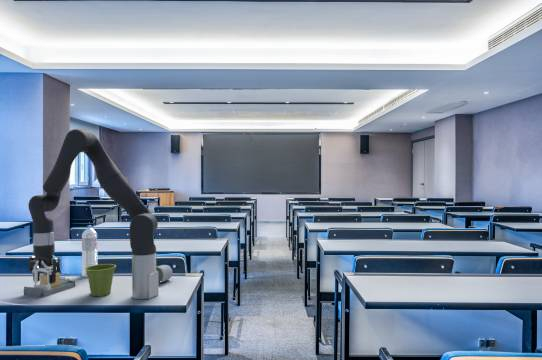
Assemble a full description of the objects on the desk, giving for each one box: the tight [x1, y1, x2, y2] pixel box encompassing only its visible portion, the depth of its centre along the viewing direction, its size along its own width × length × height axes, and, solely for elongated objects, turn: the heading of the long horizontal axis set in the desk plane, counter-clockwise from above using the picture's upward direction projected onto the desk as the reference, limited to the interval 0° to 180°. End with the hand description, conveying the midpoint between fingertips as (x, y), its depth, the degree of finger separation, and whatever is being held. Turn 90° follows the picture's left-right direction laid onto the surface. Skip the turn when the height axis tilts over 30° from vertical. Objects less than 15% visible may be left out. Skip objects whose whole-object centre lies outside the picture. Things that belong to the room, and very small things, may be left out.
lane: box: [23, 279, 76, 299], centre depth 156 cm, size 10×16×4 cm, turn 162°
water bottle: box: [81, 224, 99, 278], centre depth 181 cm, size 7×7×25 cm
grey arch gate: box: [33, 267, 51, 291], centre depth 153 cm, size 8×2×10 cm, turn 72°
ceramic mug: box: [156, 264, 174, 285], centre depth 172 cm, size 11×8×8 cm
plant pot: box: [85, 263, 117, 297], centre depth 153 cm, size 12×12×11 cm
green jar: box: [60, 276, 70, 286], centre depth 161 cm, size 5×5×4 cm
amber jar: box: [39, 272, 61, 289], centre depth 156 cm, size 5×5×8 cm
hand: (44, 282), depth 153 cm, fingers open, 8 cm apart
